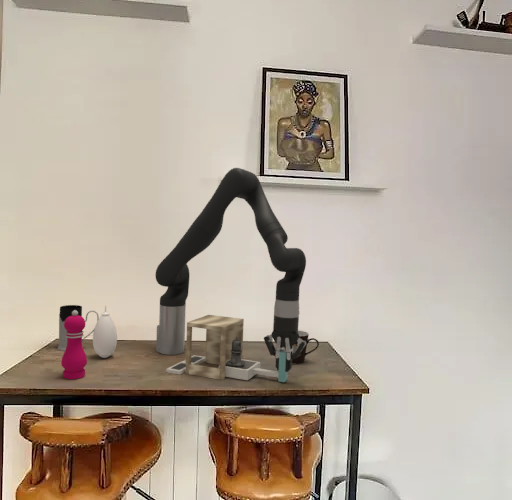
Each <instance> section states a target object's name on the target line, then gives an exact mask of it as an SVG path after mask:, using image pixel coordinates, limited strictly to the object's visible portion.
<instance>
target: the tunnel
mask: <svg viewBox="0 0 512 500" xmlns="http://www.w3.org/2000/svg"><path fill="white" fill-rule="evenodd" d="M244 322H245V320H244V318H239V317H238V318H237V317H231V316H230V317H229V316H223V315H213V314H207V315H204V316H202V317H201V316H200V317H198V318H195V319H193V320H190V321H187V322H186V344H185V345H186V346H185V347H186V349H185V360H186V372H185V374H187V375H192V376H197V377H203V378H209V379H215V380H220V381H224V380H225V379H226V377H225V362H226V361H227V360H229V359H231V350H232V341H233V340H235V339H236V337H237V339H238V340H240V341H241V351H242V352H241V359H243V346H244V345H243V344H244V343H243V342H244ZM193 328H195V329H196V328H197V329H206V333H205V334H206V335H205V357H206V358H205V361H204V362H205V364H210V365H212V364H213V365H217V366H219V365H220V368H218V367H214V366H213V367H212V366H209V365H208V366H206V365H201V364H199V365H196V364H191V357H192V347H193V345H192V344H193V343H192V340H193V339H192V338H193Z"/></svg>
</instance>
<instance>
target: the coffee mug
mask: <svg viewBox="0 0 512 500" xmlns="http://www.w3.org/2000/svg"><path fill="white" fill-rule="evenodd" d="M298 334H299V338H300V339H302V340H303V341H306V342H307V343H306V345H305V347H304V348H303V350H302V351H301V353H300V354H299V356H298V357H297V358H296V359H292V365H301V364H304V363H305V359H306V357H307V355H309V354H311V353H313V352H314V351H315V350H317V349H318V348H319V345H320V342H319V341H318V339H316V338H314V337H312V338H309V334H310V333H309V332H307V331H303V330H298ZM310 341H315V343H317V345H316V347H315V348H314V349H312V350H310V351H308V352H307V347H308V344H309V342H310ZM297 344H298V341H297V342H296V343H295V344H294V345H293V354H294V353H295V352H296V350H297V348H298V347H299V346H298V345H297ZM284 350H286V348H284Z"/></svg>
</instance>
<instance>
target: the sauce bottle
mask: <svg viewBox="0 0 512 500" xmlns="http://www.w3.org/2000/svg"><path fill="white" fill-rule="evenodd" d="M100 315H101V316H99V319H98V321H97V320H96V323H95V325H94V328H95V329H94V328H93V330H94V331H93V332H92V346H93V349H94V351H95V353H96V355H97V356H99V357H100V358H102V359H107V358H109V357H110V356H111V355H112V354H114V352H115V350H116V347H117V344H118V333H117V328H116V325H115V323H114V320H113V318H112V317H111V315H110V313H109V312H107V306H106V305H105V306H104V312H102V313H101V314H100Z"/></svg>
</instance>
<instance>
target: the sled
mask: <svg viewBox="0 0 512 500" xmlns="http://www.w3.org/2000/svg"><path fill="white" fill-rule="evenodd" d="M230 360H231V359H229V360H227V361H226V362H225V378H226V377H227V378H232V379H237V380H238V379H239V380H244V381H249V380H250V379H252V378H253V377H255V376H256V375H259V376H265V377H266V376H267V377H273V378H277V379H278V380H277V381H278V382H279V383H280V382H281V383H286V382H287V381H288V380H289V378H288V377H289V371H288V372H286V371H285V369H286V360H287V353H286V350H285V349H283V350H282V351H280V352H279V370H271V369H265V368H261V362H260V361H257V360H248V359H243V358H242V359H241V361H243V362H245V365H244V367H243V369H241V368H234V367H228V366H227V362H228V361H230ZM217 366H218V367H217V368H220V365H217Z"/></svg>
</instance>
